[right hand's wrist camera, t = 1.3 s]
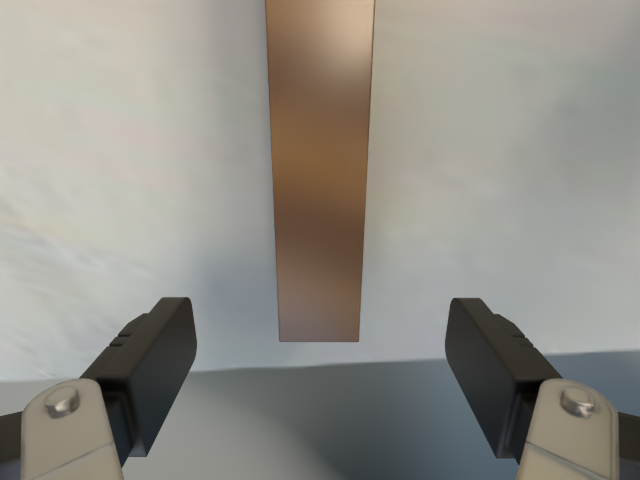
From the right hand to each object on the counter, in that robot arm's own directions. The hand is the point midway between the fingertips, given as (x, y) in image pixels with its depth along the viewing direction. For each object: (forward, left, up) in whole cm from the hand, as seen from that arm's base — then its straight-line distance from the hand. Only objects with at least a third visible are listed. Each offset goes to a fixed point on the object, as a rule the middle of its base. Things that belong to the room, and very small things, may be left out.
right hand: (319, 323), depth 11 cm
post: (-25, -18, -17) cm, 36 cm away
